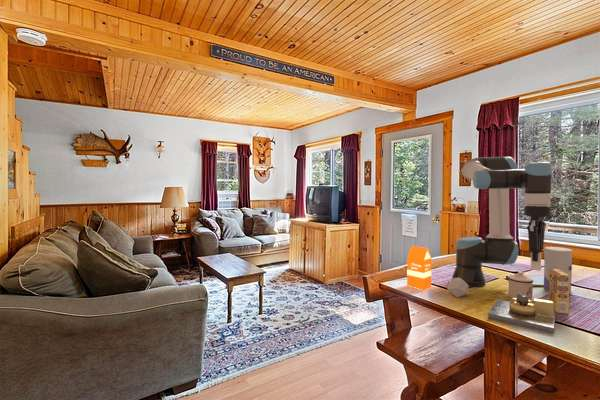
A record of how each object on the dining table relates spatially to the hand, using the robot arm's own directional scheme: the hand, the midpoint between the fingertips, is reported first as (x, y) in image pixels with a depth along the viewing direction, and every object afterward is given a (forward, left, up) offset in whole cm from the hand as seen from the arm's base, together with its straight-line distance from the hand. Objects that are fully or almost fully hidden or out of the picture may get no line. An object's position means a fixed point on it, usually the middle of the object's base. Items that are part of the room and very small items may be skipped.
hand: (535, 269), depth 113 cm
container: (+5, +49, -19) cm, 53 cm away
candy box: (+6, +20, -19) cm, 28 cm away
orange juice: (-47, +13, -19) cm, 52 cm away
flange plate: (-4, +2, -19) cm, 20 cm away
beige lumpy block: (-1, +2, -17) cm, 17 cm away
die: (-29, +12, -20) cm, 37 cm away
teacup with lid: (-7, +27, -19) cm, 34 cm away
